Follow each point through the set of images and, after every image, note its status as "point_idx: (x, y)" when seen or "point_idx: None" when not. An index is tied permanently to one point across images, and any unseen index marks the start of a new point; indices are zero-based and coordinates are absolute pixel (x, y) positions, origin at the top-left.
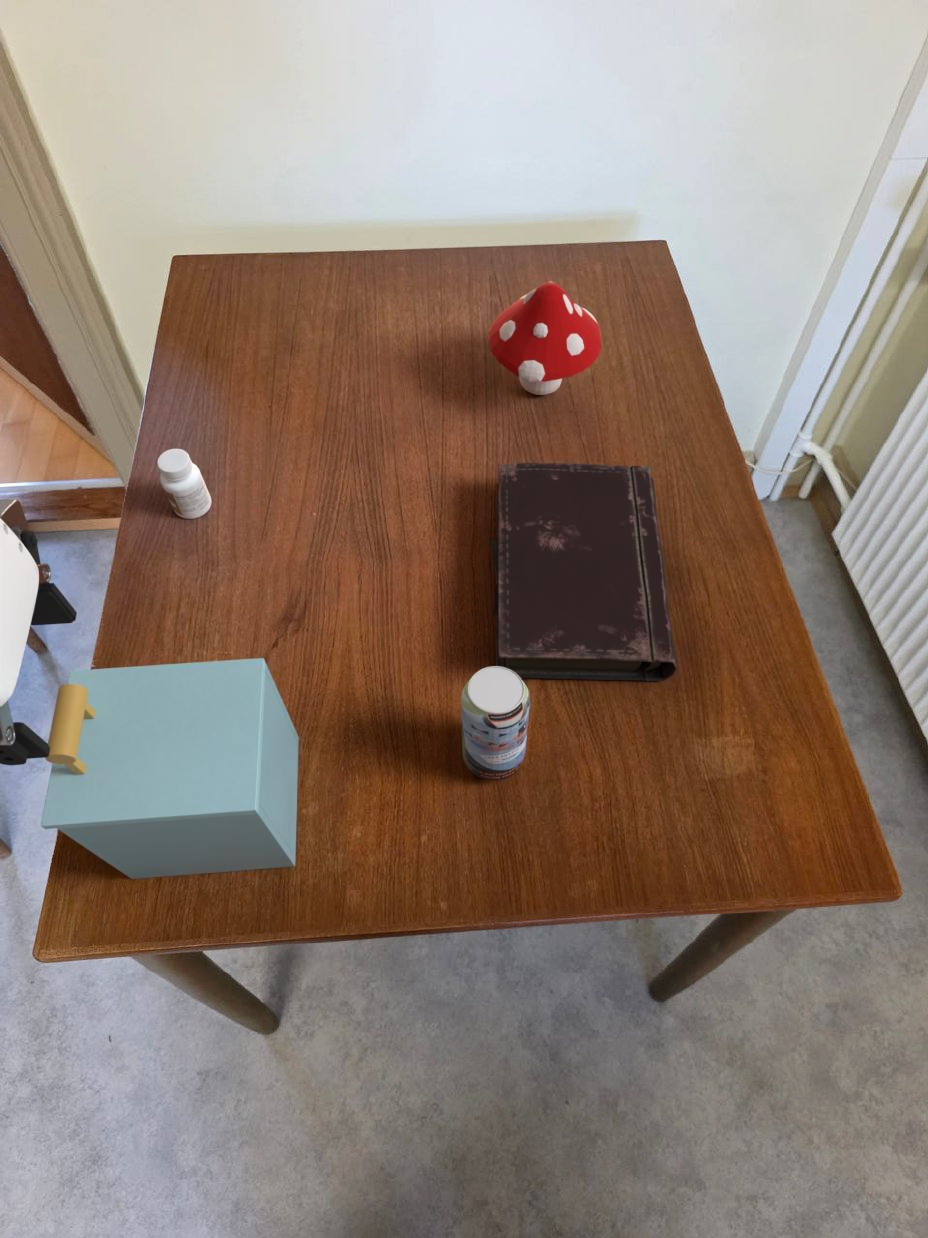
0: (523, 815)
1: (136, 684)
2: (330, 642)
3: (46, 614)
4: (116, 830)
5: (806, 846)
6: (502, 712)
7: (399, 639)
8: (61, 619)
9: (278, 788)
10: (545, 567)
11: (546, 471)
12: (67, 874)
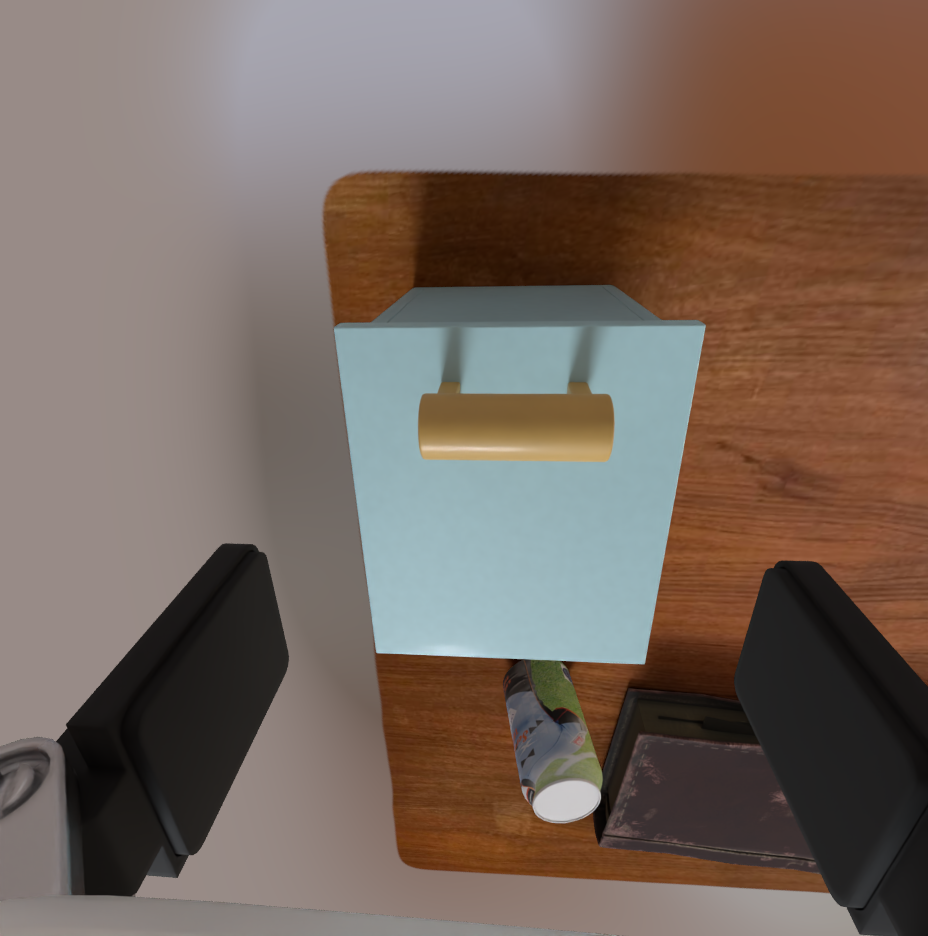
0: (470, 685)
1: (634, 471)
2: (729, 528)
3: (779, 687)
4: None
5: (432, 840)
6: (533, 807)
7: (709, 602)
8: (750, 684)
9: None
10: (751, 784)
11: None
12: (422, 183)
